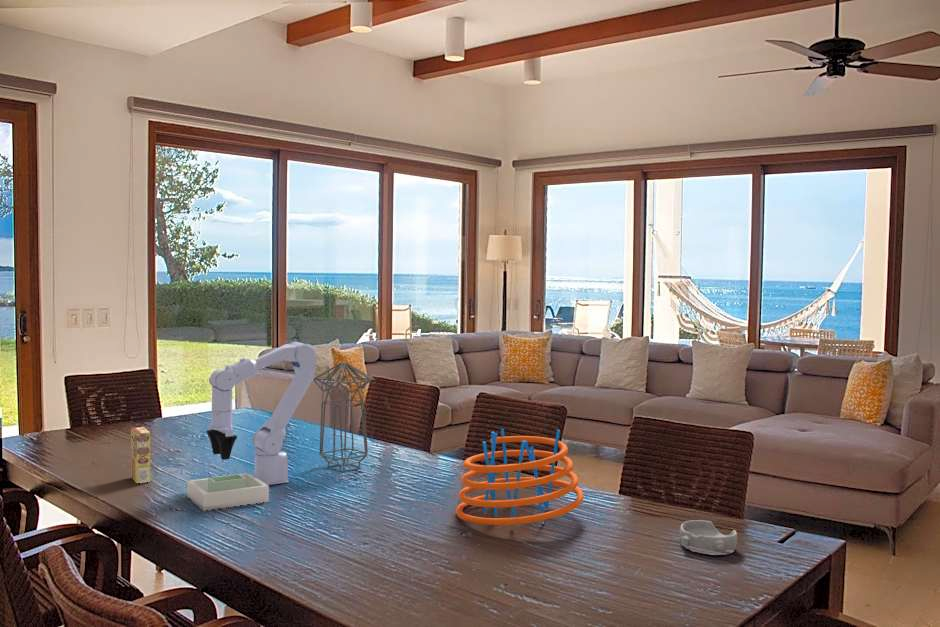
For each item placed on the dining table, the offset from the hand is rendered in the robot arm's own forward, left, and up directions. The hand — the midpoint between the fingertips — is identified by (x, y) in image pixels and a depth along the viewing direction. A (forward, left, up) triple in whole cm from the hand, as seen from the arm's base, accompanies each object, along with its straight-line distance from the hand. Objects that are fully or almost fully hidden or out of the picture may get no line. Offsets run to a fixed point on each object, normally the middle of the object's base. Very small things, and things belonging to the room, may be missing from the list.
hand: (221, 456), depth 239 cm
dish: (-85, +108, -10) cm, 138 cm away
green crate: (+2, +12, -8) cm, 15 cm away
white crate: (+2, +12, -9) cm, 15 cm away
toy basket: (-60, +65, -10) cm, 89 cm away
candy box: (+18, -20, -10) cm, 29 cm away
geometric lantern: (-42, -6, -10) cm, 43 cm away
